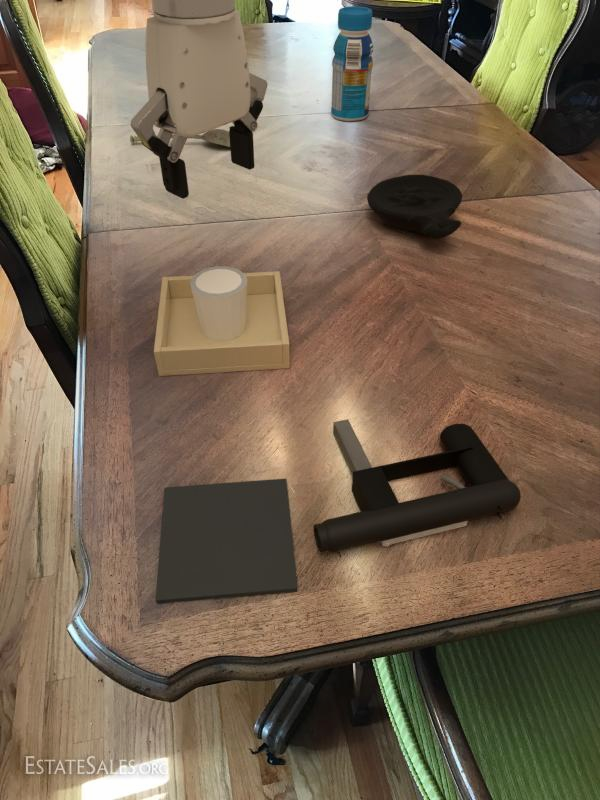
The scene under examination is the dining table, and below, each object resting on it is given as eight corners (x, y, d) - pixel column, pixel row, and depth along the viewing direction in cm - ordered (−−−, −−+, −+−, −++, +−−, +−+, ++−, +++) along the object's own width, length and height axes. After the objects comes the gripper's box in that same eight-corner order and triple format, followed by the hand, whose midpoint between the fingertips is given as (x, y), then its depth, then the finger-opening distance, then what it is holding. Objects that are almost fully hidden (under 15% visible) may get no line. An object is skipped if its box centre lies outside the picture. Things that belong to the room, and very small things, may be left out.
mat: (156, 603, 52) (155, 600, 52) (165, 491, 61) (164, 487, 60) (297, 591, 53) (297, 588, 52) (286, 481, 61) (286, 478, 61)
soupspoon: (239, 155, 121) (242, 143, 126) (239, 137, 118) (242, 126, 123) (127, 149, 120) (135, 138, 125) (125, 131, 118) (133, 120, 123)
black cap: (391, 263, 91) (395, 232, 88) (354, 203, 105) (356, 175, 101) (484, 252, 93) (491, 222, 90) (436, 195, 107) (441, 167, 104)
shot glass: (209, 350, 75) (202, 303, 70) (188, 320, 79) (181, 274, 74) (259, 333, 77) (257, 286, 73) (236, 306, 82) (232, 259, 77)
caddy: (158, 376, 73) (153, 351, 70) (166, 300, 84) (162, 276, 81) (289, 368, 74) (289, 343, 71) (280, 294, 85) (279, 271, 82)
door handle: (279, 427, 63) (325, 552, 52) (456, 392, 67) (536, 502, 56) (280, 449, 66) (325, 575, 54) (451, 415, 70) (528, 524, 58)
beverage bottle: (322, 116, 134) (325, 10, 120) (346, 106, 139) (352, 2, 125) (352, 125, 130) (359, 17, 116) (376, 115, 135) (385, 9, 121)
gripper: (233, -22, 62) (243, 147, 74) (88, 7, 53) (126, 195, 65) (288, -11, 59) (289, 165, 71) (142, 21, 49) (172, 218, 61)
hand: (211, 179), depth 68 cm, fingers open, 9 cm apart
